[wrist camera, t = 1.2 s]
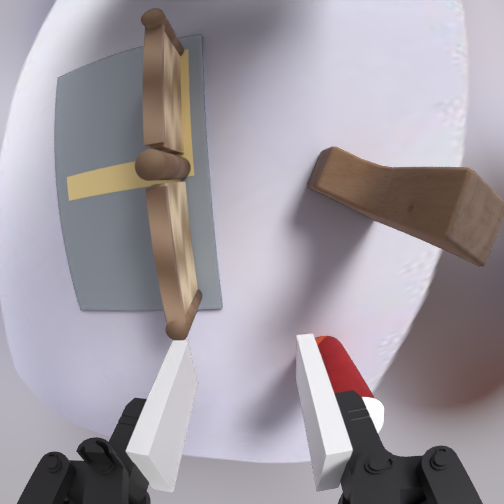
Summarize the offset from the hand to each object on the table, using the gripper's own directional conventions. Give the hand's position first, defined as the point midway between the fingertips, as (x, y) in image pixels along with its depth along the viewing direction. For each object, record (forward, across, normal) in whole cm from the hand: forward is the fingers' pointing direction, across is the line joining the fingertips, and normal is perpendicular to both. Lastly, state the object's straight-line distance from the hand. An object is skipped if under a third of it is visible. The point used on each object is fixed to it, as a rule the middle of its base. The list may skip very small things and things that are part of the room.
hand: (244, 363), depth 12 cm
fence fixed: (+18, -7, +17) cm, 26 cm away
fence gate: (+18, -7, +2) cm, 19 cm away
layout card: (+19, -14, +10) cm, 25 cm away
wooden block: (+19, +12, +7) cm, 23 cm away
